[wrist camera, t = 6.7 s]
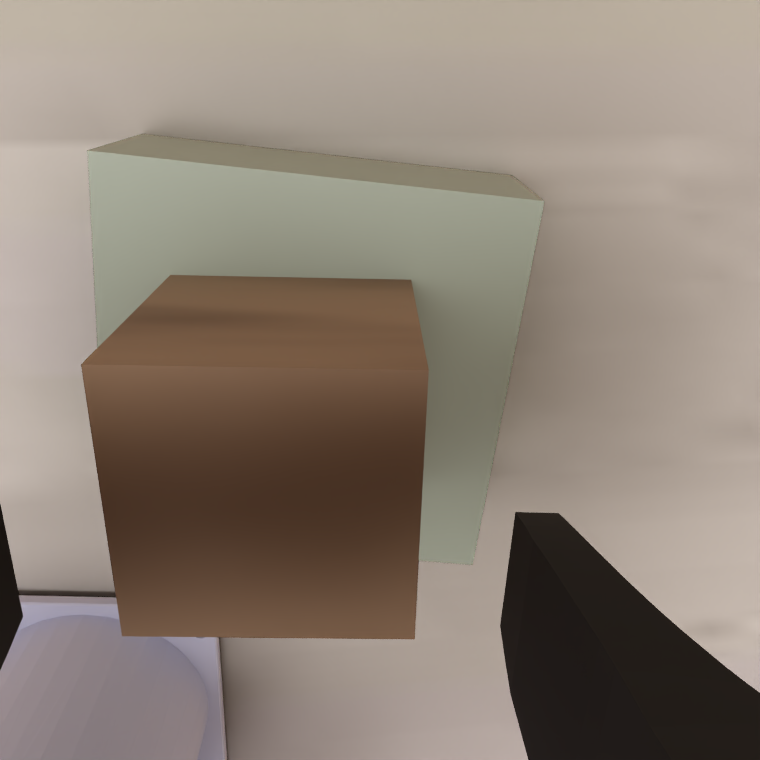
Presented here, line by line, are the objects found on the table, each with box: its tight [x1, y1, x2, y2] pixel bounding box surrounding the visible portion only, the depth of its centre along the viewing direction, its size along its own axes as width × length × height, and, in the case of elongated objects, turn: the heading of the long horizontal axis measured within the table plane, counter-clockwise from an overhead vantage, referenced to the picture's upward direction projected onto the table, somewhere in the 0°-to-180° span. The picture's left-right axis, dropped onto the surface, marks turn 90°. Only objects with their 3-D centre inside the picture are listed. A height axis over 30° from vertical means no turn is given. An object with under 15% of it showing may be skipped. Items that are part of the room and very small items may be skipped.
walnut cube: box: [81, 275, 429, 639], centre depth 14 cm, size 5×5×5 cm
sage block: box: [87, 134, 544, 565], centre depth 18 cm, size 9×9×4 cm
